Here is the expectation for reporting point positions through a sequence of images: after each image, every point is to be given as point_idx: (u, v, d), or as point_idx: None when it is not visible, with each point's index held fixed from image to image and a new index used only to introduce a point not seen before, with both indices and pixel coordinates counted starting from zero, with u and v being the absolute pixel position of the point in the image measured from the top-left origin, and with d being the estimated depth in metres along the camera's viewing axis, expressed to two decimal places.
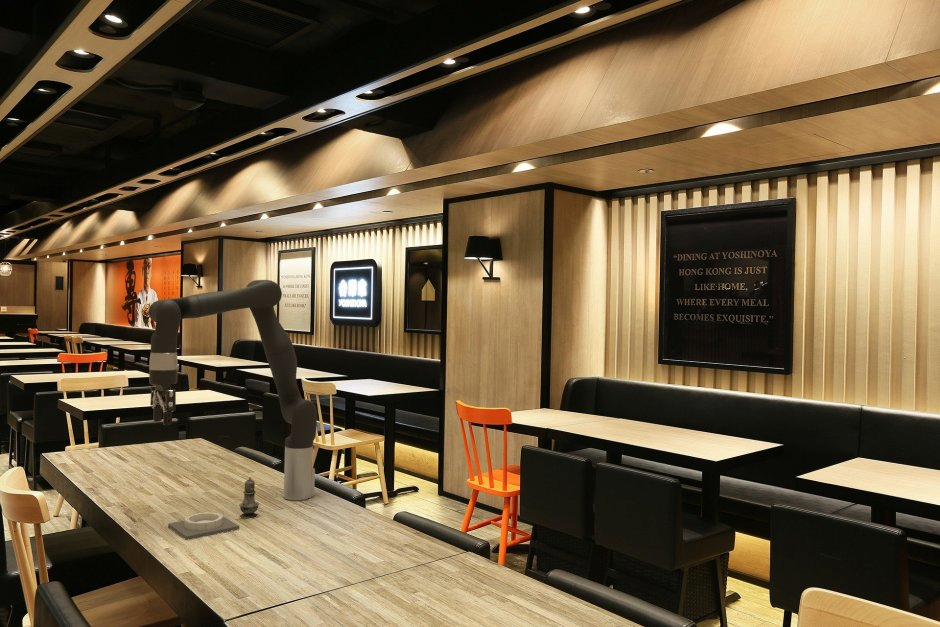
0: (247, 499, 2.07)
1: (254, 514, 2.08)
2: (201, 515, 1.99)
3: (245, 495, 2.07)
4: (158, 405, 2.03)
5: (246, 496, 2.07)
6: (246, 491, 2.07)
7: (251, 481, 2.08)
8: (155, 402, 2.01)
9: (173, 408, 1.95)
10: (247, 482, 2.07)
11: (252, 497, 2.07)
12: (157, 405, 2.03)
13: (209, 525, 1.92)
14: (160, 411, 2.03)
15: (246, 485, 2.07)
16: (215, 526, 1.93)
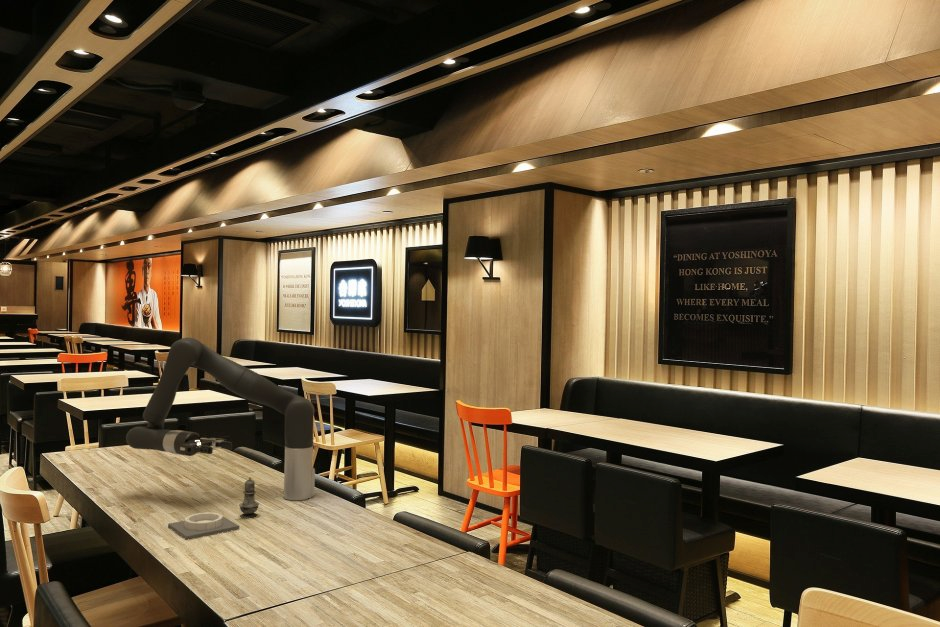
0: (247, 499, 2.07)
1: (254, 514, 2.08)
2: (201, 515, 1.99)
3: (245, 495, 2.07)
4: (219, 443, 2.18)
5: (246, 496, 2.07)
6: (246, 491, 2.07)
7: (251, 481, 2.08)
8: (213, 448, 2.17)
9: (192, 448, 2.08)
10: (247, 482, 2.07)
11: (252, 497, 2.07)
12: (219, 444, 2.18)
13: (209, 525, 1.92)
14: (223, 443, 2.17)
15: (246, 485, 2.07)
16: (215, 526, 1.93)
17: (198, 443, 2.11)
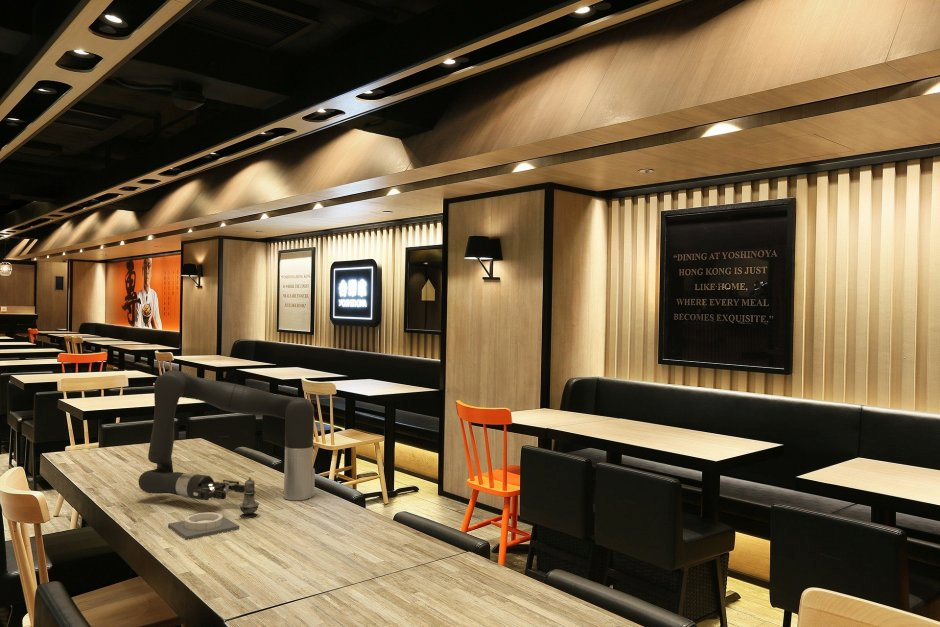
0: (247, 499, 2.07)
1: (254, 514, 2.08)
2: (201, 515, 1.99)
3: (245, 495, 2.07)
4: (232, 486, 2.16)
5: (246, 496, 2.07)
6: (246, 491, 2.07)
7: (251, 481, 2.08)
8: (227, 491, 2.15)
9: (205, 493, 2.06)
10: (247, 482, 2.07)
11: (252, 497, 2.07)
12: (232, 487, 2.16)
13: (209, 525, 1.92)
14: (236, 486, 2.15)
15: (246, 485, 2.07)
16: (215, 526, 1.93)
17: (211, 488, 2.09)
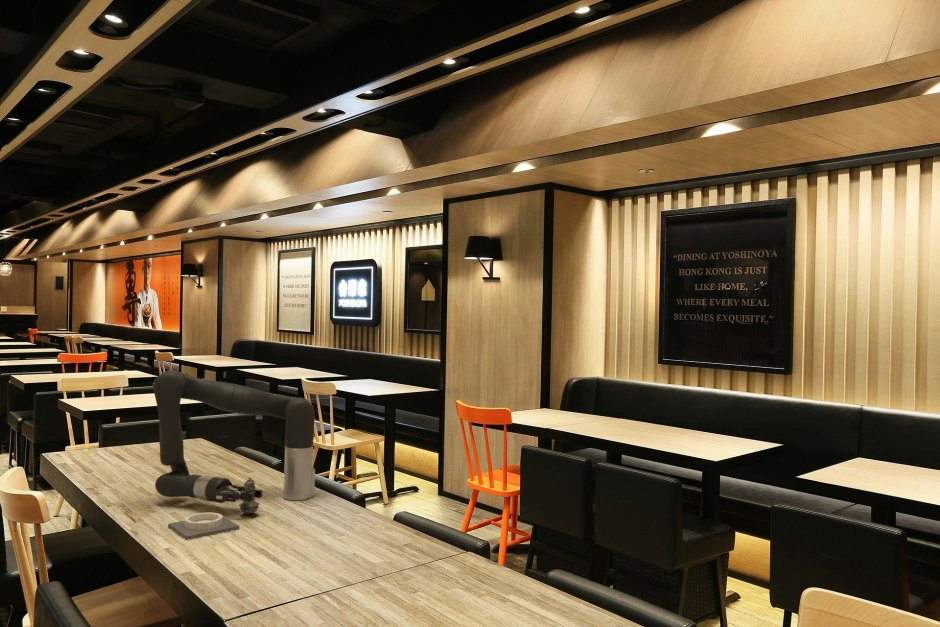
0: None
1: (254, 514, 2.08)
2: (201, 515, 1.99)
3: None
4: None
5: None
6: (246, 491, 2.07)
7: (251, 481, 2.08)
8: None
9: (233, 495, 2.04)
10: (247, 482, 2.07)
11: None
12: None
13: (209, 525, 1.92)
14: None
15: (246, 485, 2.07)
16: (215, 526, 1.93)
17: (235, 490, 2.07)
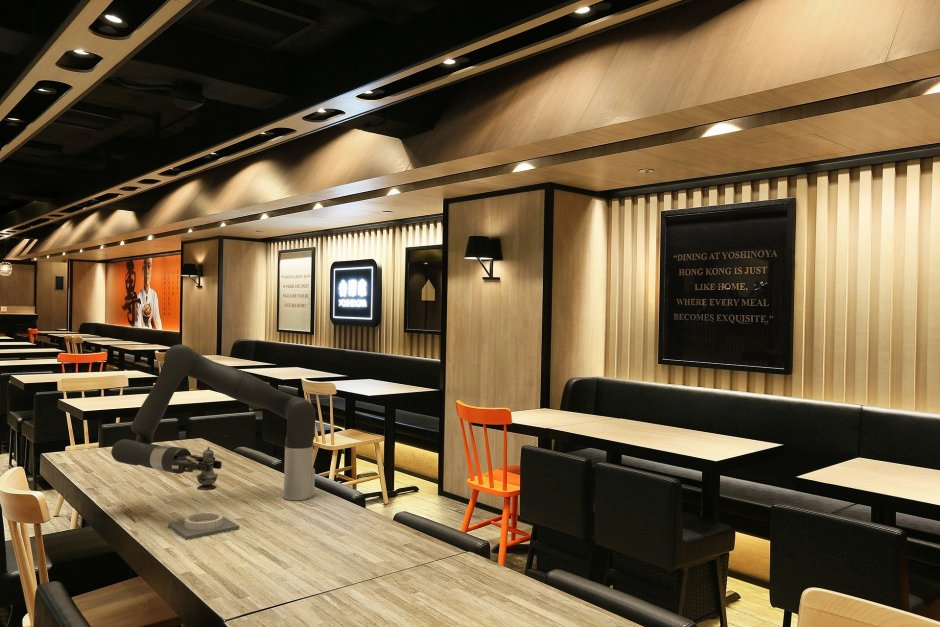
0: None
1: (212, 486, 1.97)
2: (201, 515, 1.99)
3: None
4: None
5: None
6: (204, 461, 1.95)
7: (210, 451, 1.96)
8: None
9: (189, 465, 1.93)
10: (205, 452, 1.96)
11: None
12: None
13: (209, 525, 1.92)
14: None
15: (204, 455, 1.95)
16: (215, 526, 1.93)
17: (193, 460, 1.96)
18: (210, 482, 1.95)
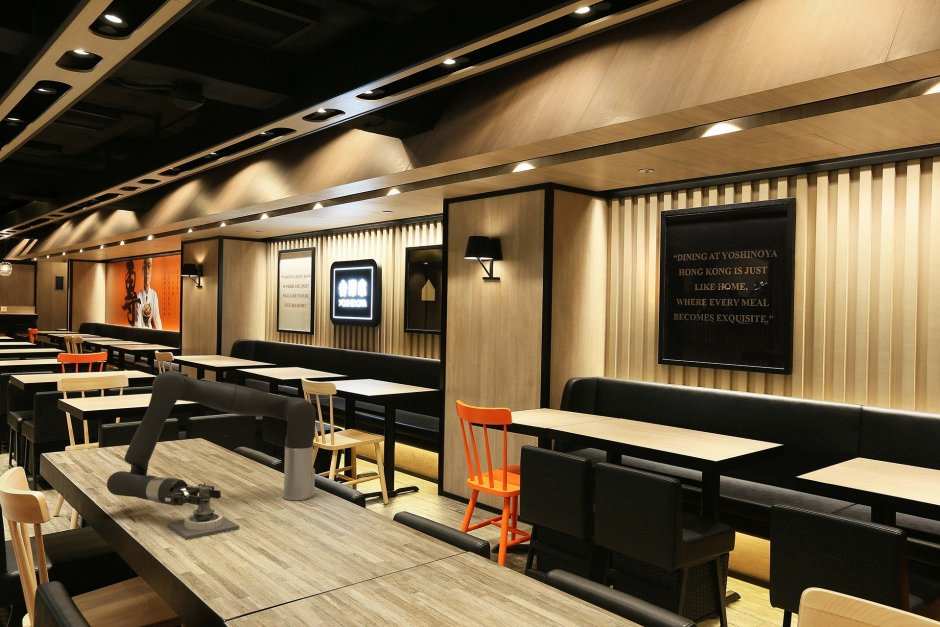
0: (202, 506, 1.94)
1: None
2: None
3: None
4: None
5: None
6: None
7: (206, 487, 1.95)
8: None
9: (179, 499, 1.91)
10: (201, 488, 1.95)
11: (207, 504, 1.95)
12: None
13: (209, 525, 1.92)
14: (211, 491, 1.99)
15: (200, 491, 1.94)
16: (215, 526, 1.93)
17: (185, 492, 1.94)
18: (207, 518, 1.94)
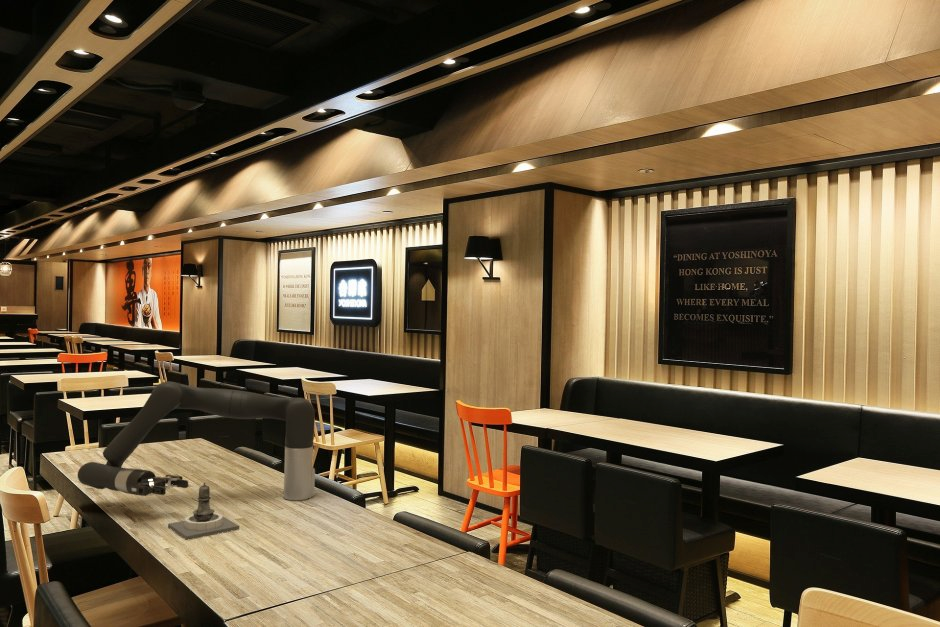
0: (202, 506, 1.94)
1: None
2: None
3: (199, 501, 1.95)
4: (175, 482, 2.06)
5: (200, 503, 1.94)
6: (200, 497, 1.94)
7: (206, 487, 1.95)
8: (169, 486, 2.05)
9: (143, 489, 1.96)
10: (201, 488, 1.95)
11: (207, 504, 1.95)
12: (175, 482, 2.06)
13: (209, 525, 1.92)
14: (178, 481, 2.05)
15: (200, 491, 1.94)
16: (215, 526, 1.93)
17: (151, 483, 1.99)
18: (207, 518, 1.94)
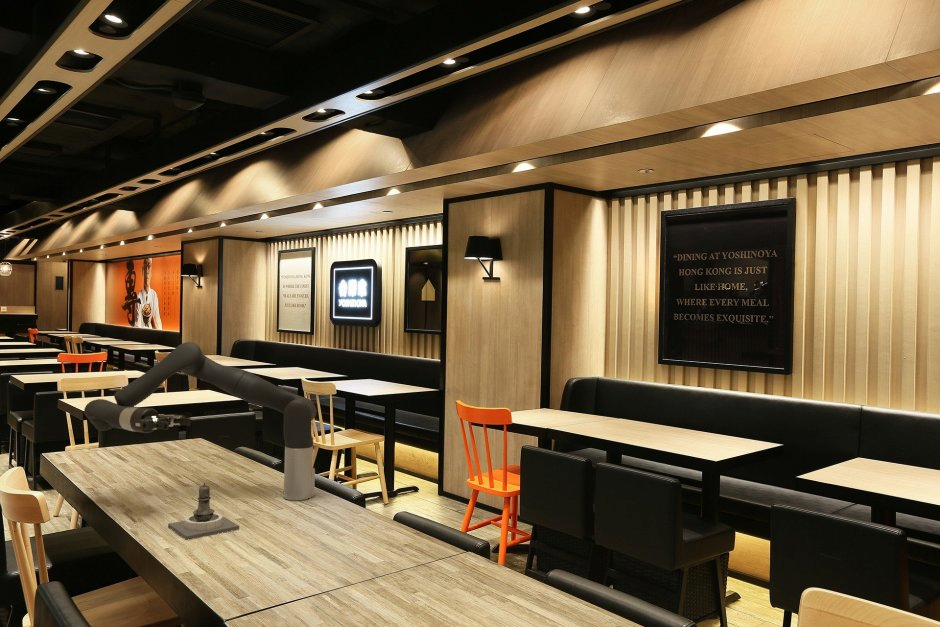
0: (202, 506, 1.94)
1: None
2: None
3: (199, 501, 1.95)
4: (178, 420, 2.11)
5: (200, 503, 1.94)
6: (200, 497, 1.94)
7: (206, 487, 1.95)
8: (171, 424, 2.10)
9: (147, 423, 2.01)
10: (201, 488, 1.95)
11: (207, 504, 1.95)
12: (178, 421, 2.11)
13: (209, 525, 1.92)
14: (181, 419, 2.10)
15: (200, 491, 1.94)
16: (215, 526, 1.93)
17: (154, 419, 2.04)
18: (207, 518, 1.94)
